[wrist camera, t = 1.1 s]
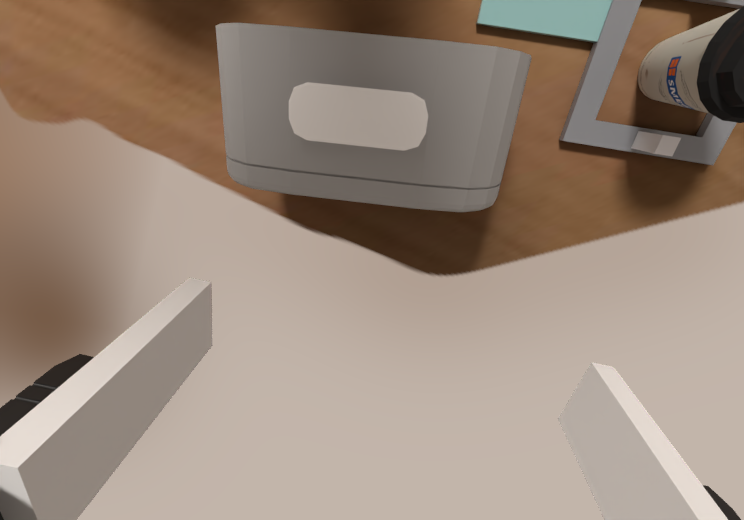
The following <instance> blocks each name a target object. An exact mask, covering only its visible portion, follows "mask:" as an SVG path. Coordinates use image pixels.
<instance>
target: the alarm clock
mask: <svg viewBox="0 0 744 520" xmlns="http://www.w3.org/2000/svg"><path fill="white" fill-rule="evenodd" d="M216 37H217V49H218V61H219V73H220V86H221V98H222V110H223V122H224V134H225V146H226V154H227V156H226V159H227V171H228V173H229V175H230V176H231V177H232V179H233V180H234V181H236V182H237V183H239V184H241V185H244V186H247V187H249V188H253V189H259V190H266V191H273V192H279V193H286V194H292V195H301V196H310V197H318V198H327V199H336V200H345V201H353V202H362V203H371V204H379V205H388V206H397V207H406V208H414V209H426V210H438V211H451V212H469V211H480V210H483V209H485V208H488V207H490V206H492V205H493V204H494V202H495V200H496V198H497V196H498V192H499V188H500V184H501V180H502V176H503V172H504V168H505V164H506V160H507V156H508V152H509V148H510V144H511V139H512V135H513V131H514V127H515V123H516V119H517V115H518V111H519V107H520V103H521V99H522V95H523V91H524V87H525V83H526V79H527V74H528V70H529V66H530V62H531V55H529V54H526V53H524V52H521V51H516V50H511V49H506V48H501V47H495V46H486V45H477V44H468V43H459V42H450V41H440V40H429V39H419V38H408V37H397V36H386V35H375V34H365V33H354V32H343V31H332V30H322V29H311V28H300V27H289V26H276V25H262V24H249V23H221V24H218V25H216Z"/></svg>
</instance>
